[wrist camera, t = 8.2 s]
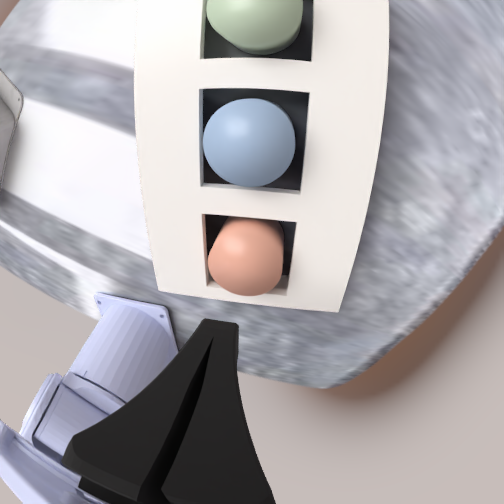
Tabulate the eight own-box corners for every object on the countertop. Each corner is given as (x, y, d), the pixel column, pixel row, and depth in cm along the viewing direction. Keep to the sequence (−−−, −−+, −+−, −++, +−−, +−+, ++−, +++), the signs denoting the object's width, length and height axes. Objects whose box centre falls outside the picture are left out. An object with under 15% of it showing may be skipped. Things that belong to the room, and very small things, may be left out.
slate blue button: (291, 171, 15) (291, 190, 12) (220, 166, 15) (203, 184, 12) (296, 101, 12) (298, 102, 10) (220, 97, 13) (203, 98, 10)
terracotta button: (281, 267, 18) (278, 299, 16) (221, 260, 19) (209, 291, 16) (287, 212, 16) (285, 239, 13) (220, 206, 16) (205, 231, 14)
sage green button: (299, 57, 11) (301, 46, 8) (222, 55, 11) (204, 45, 9) (301, -5, 9) (303, -28, 6) (225, -6, 9) (209, -27, 7)
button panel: (334, 286, 19) (338, 312, 17) (171, 268, 20) (158, 290, 18) (373, -10, 8) (386, -25, 6) (161, -13, 9) (141, -26, 7)
